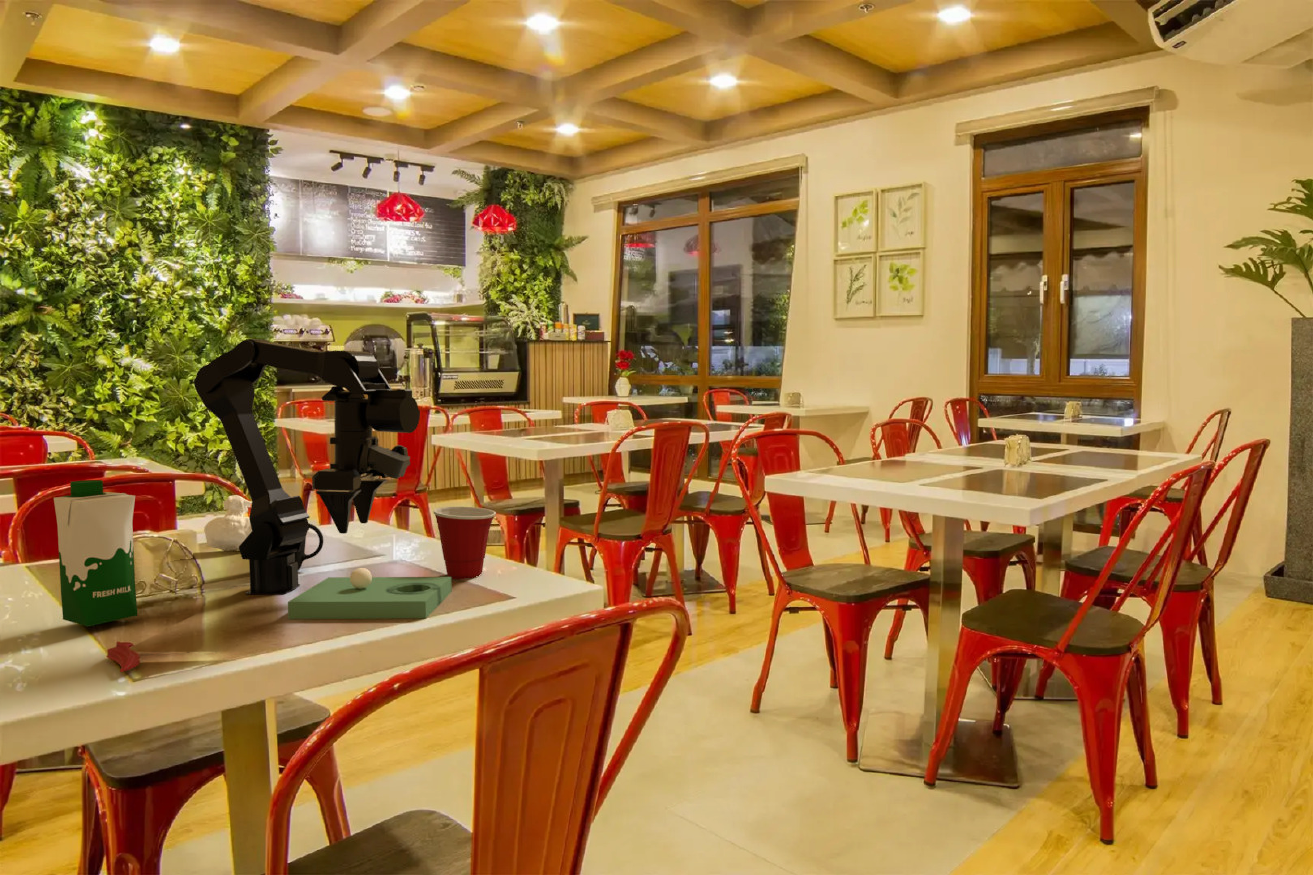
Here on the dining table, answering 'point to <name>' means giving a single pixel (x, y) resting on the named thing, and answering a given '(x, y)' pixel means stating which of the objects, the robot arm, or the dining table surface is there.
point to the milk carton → (96, 554)
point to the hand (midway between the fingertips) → (353, 528)
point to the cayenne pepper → (124, 655)
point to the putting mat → (371, 598)
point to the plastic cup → (463, 539)
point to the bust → (229, 525)
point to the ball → (361, 578)
